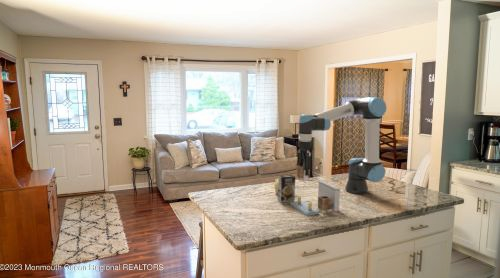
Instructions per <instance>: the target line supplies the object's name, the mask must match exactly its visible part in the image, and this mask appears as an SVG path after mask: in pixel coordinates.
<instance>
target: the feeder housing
mask: <svg viewBox="0 0 500 278" xmlns="http://www.w3.org/2000/svg"><path fill="white" fill-rule="evenodd" d="M317 191H318V194H317V197H318V196H328V197H330V198H332V210H331V211H333V212H334V211H335V212H339V211H340V198H341V197H340V196H341V195H340V193H341V188H339V187H337V186H336V185H333V184H331V183H329V182H327V181H324V180H319V181H318V190H317Z"/></svg>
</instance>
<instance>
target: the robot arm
mask: <svg viewBox="0 0 500 278" xmlns="http://www.w3.org/2000/svg"><path fill="white" fill-rule="evenodd" d="M386 112H387V104H386V102H385V100H384V99H382V98H381V97H376V96H374V97H373V96H362V97H358V98H355V99H352V100H349V101H346V102H345V103H344V104H342V105H339V106H336V107H333V108H330V109H327V110H324V111H322V112H318V113H315V114H309V113H307V114H306V113H305V114H300V115H299V119H298V135H297V137H298V143H297V144H298V145H297V146H298V148H299V149H297V153H296V154H297V156H296V157H297V158H296V166H304V167H305V169H304V177H303V181H302V182H309V181H308V172H309V170H310V171H311V169H312V155H313V154H312V153H313V152H310V148H311V149H312V140H313V139H312V136H313V131H316V132H317V131H319V132H320V131H322V132H324V131H328V130H330V128H331V124H332V122H333V121H337V120H339V119H341V118H345V117H348V116H349V117H352V116H357V115H358V116H359V115H360V116H362V120H363V121H364V157H354V158H353V157H352V158H350V159H349V162H348V177H347V181H346V185H345V188H344V190H345V191H346V192H347V193H350V194H355V195H364V194H365V195H366V194H368V192H369V186H368V184H367V181H369V182H370V183H379V182H380V181H381V182H382V180H383V179H384V177H385V175H386V168H385V167H384V165H382V160H381V159H380V122H381V120H382V119H383V116H385V113H386Z"/></svg>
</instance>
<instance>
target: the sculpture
mask: <svg viewBox="0 0 500 278" xmlns="http://www.w3.org/2000/svg"><path fill="white" fill-rule="evenodd" d="M273 185H274V187H273V188H274V191H275V193H277V194H278V178H275V179H274V184H273Z"/></svg>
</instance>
